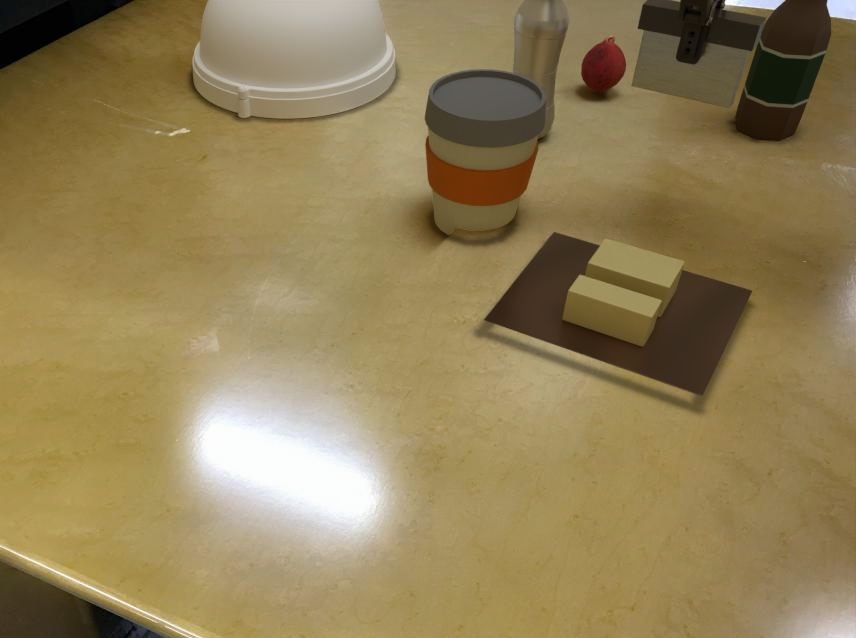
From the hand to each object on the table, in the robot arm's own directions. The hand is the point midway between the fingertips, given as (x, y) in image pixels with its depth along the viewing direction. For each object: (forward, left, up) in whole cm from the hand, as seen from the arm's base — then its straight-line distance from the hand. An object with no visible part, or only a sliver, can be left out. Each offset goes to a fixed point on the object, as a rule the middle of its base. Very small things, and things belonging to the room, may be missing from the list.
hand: (692, 55), depth 89 cm
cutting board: (-3, +18, -19) cm, 27 cm away
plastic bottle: (+20, -13, -19) cm, 30 cm away
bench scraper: (0, 0, -4) cm, 4 cm away
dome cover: (+57, -14, -19) cm, 62 cm away
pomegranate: (+16, -29, -19) cm, 38 cm away
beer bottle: (-6, -30, -19) cm, 36 cm away
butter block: (-3, +16, -18) cm, 24 cm away
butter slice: (-3, +22, -18) cm, 28 cm away
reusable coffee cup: (+17, +9, -19) cm, 27 cm away
